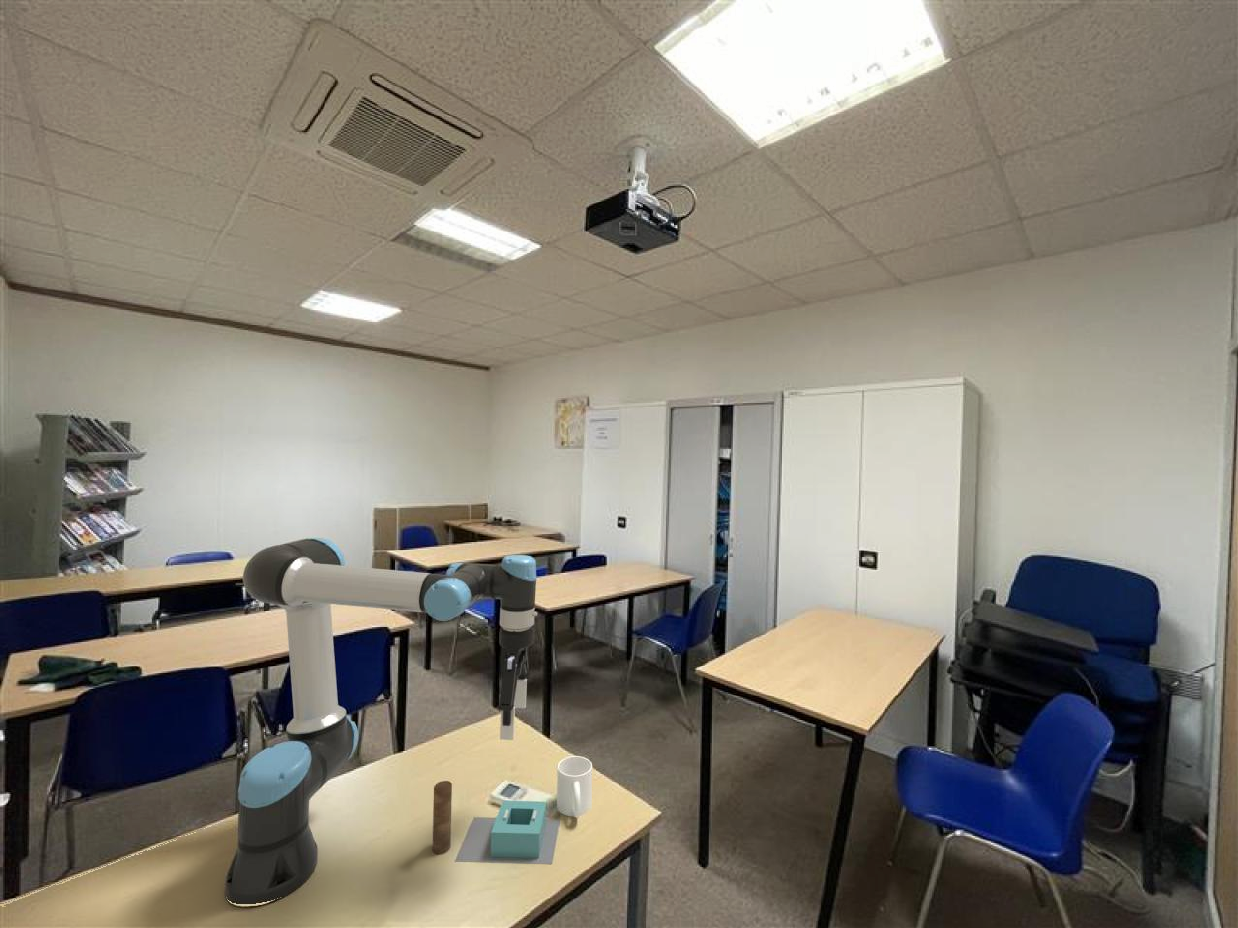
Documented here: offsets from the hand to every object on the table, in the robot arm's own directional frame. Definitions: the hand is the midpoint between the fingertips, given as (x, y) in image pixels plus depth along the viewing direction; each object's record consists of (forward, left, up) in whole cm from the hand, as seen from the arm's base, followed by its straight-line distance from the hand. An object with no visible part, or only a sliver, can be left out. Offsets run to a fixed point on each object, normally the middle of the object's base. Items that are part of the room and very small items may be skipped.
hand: (513, 722), depth 111 cm
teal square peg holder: (+2, -2, -24) cm, 25 cm away
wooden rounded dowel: (-14, -5, -25) cm, 29 cm away
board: (0, -2, -25) cm, 25 cm away
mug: (+13, +8, -26) cm, 30 cm away
